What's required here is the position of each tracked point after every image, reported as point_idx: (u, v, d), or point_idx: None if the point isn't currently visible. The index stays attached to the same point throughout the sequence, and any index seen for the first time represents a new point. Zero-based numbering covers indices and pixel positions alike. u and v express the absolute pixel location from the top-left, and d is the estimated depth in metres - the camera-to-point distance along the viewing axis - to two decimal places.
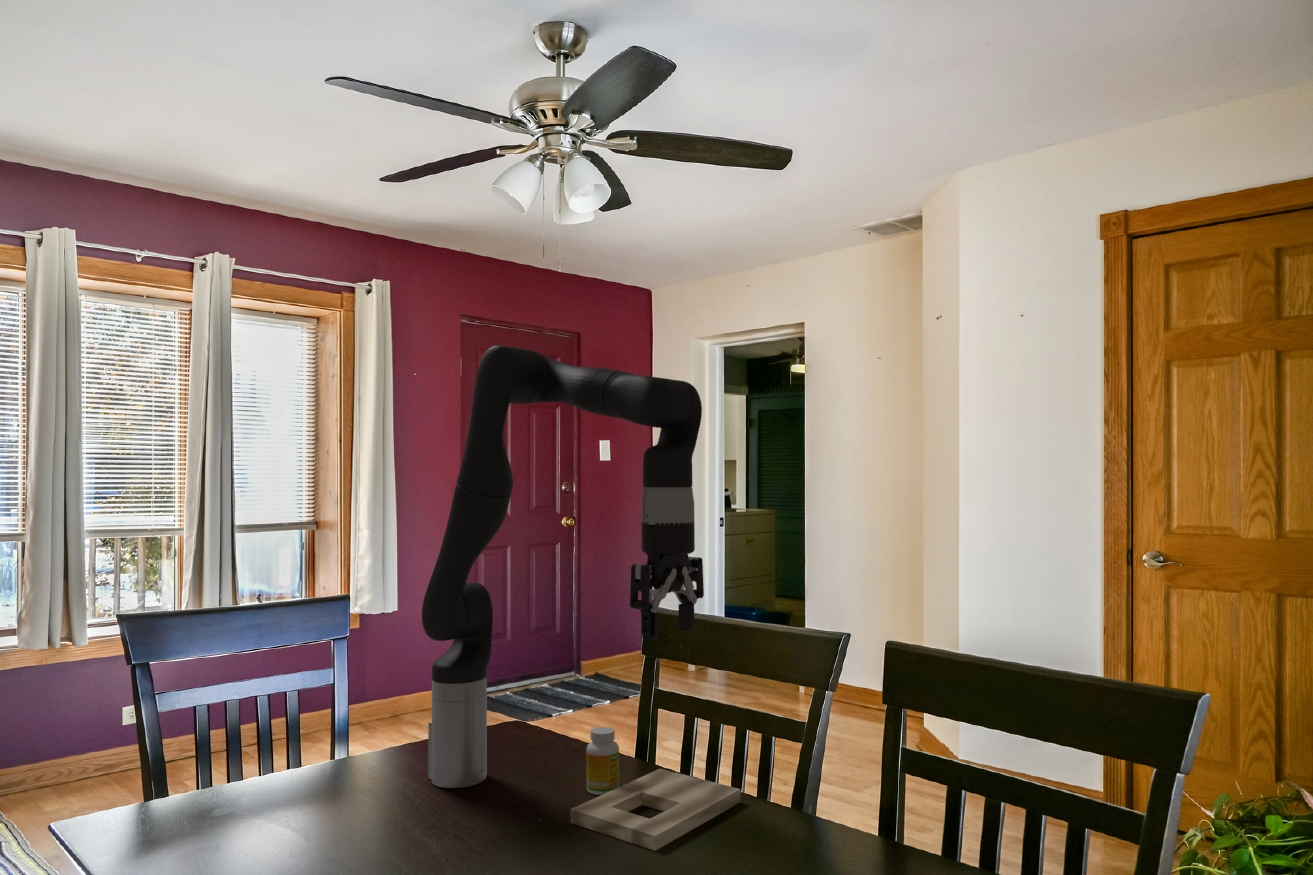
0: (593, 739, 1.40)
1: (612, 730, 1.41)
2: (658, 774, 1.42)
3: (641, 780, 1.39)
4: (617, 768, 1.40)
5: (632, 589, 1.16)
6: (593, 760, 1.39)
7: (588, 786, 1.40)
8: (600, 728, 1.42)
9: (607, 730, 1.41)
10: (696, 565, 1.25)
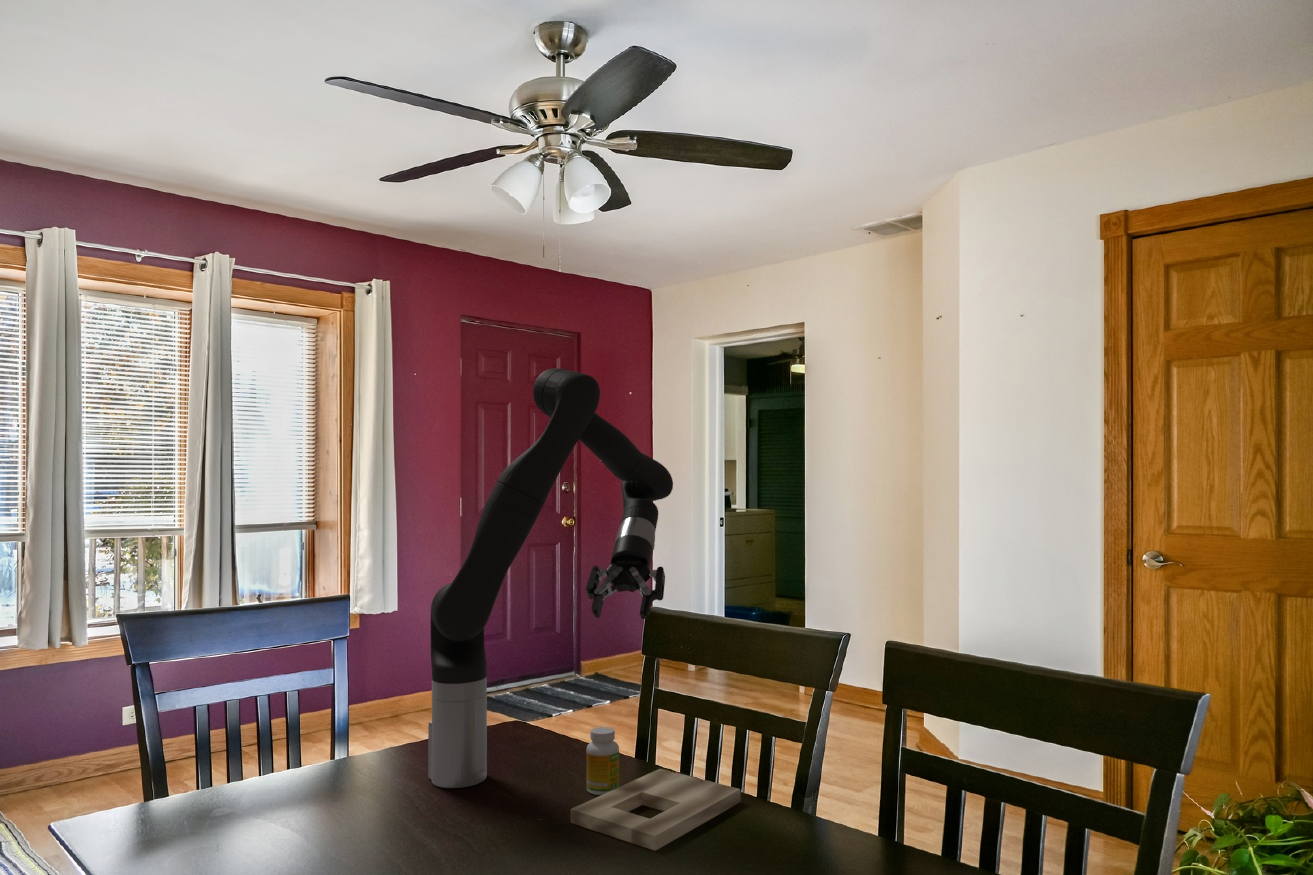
0: (593, 739, 1.40)
1: (612, 730, 1.41)
2: (658, 774, 1.42)
3: (641, 780, 1.39)
4: (617, 768, 1.40)
5: (662, 582, 1.56)
6: (593, 760, 1.39)
7: (588, 786, 1.40)
8: (600, 728, 1.42)
9: (607, 731, 1.41)
10: None
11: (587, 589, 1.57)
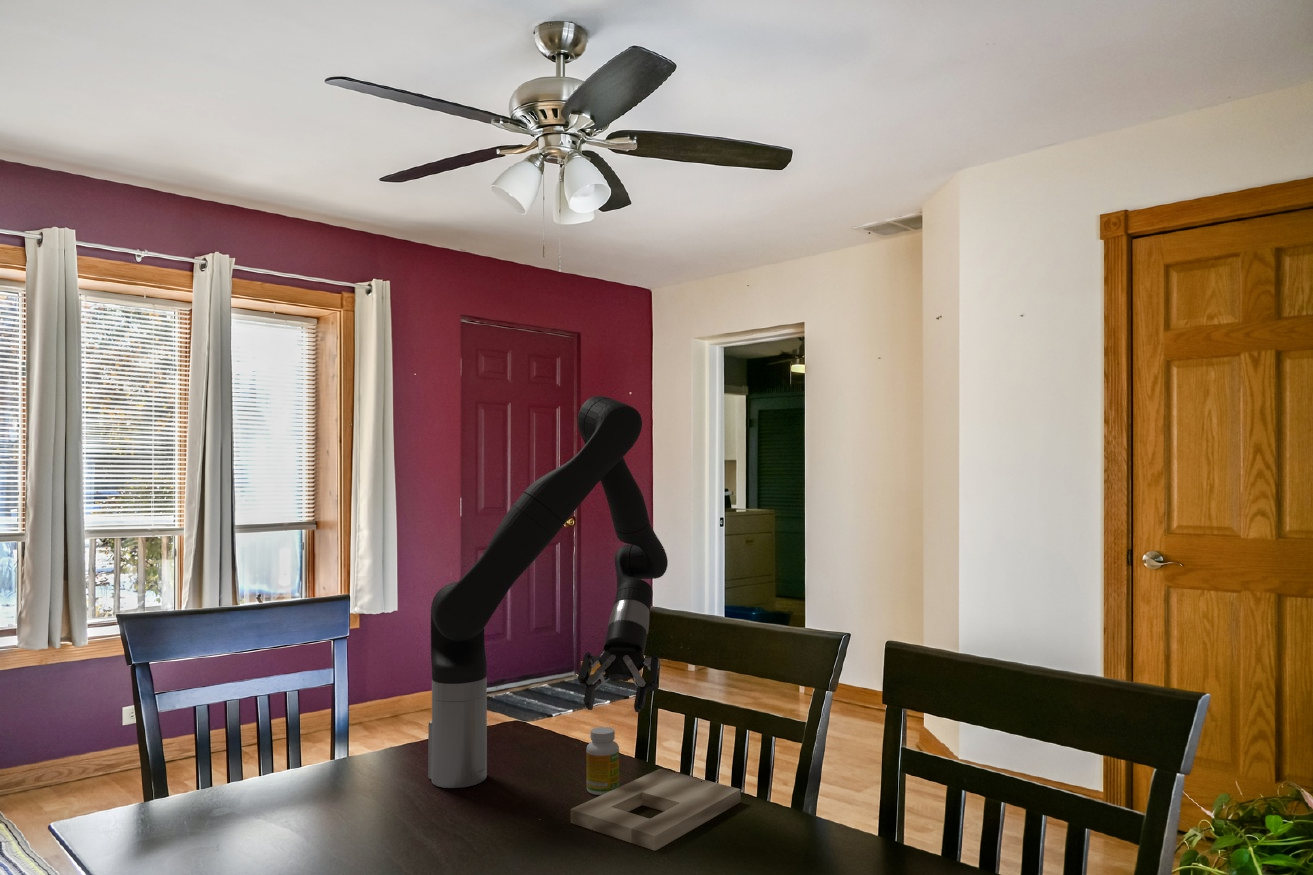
0: (592, 739, 1.40)
1: (612, 730, 1.41)
2: (658, 774, 1.42)
3: (641, 780, 1.39)
4: (617, 768, 1.40)
5: (657, 672, 1.51)
6: (592, 760, 1.39)
7: (588, 786, 1.40)
8: (600, 728, 1.42)
9: (607, 731, 1.41)
10: None
11: (579, 679, 1.52)
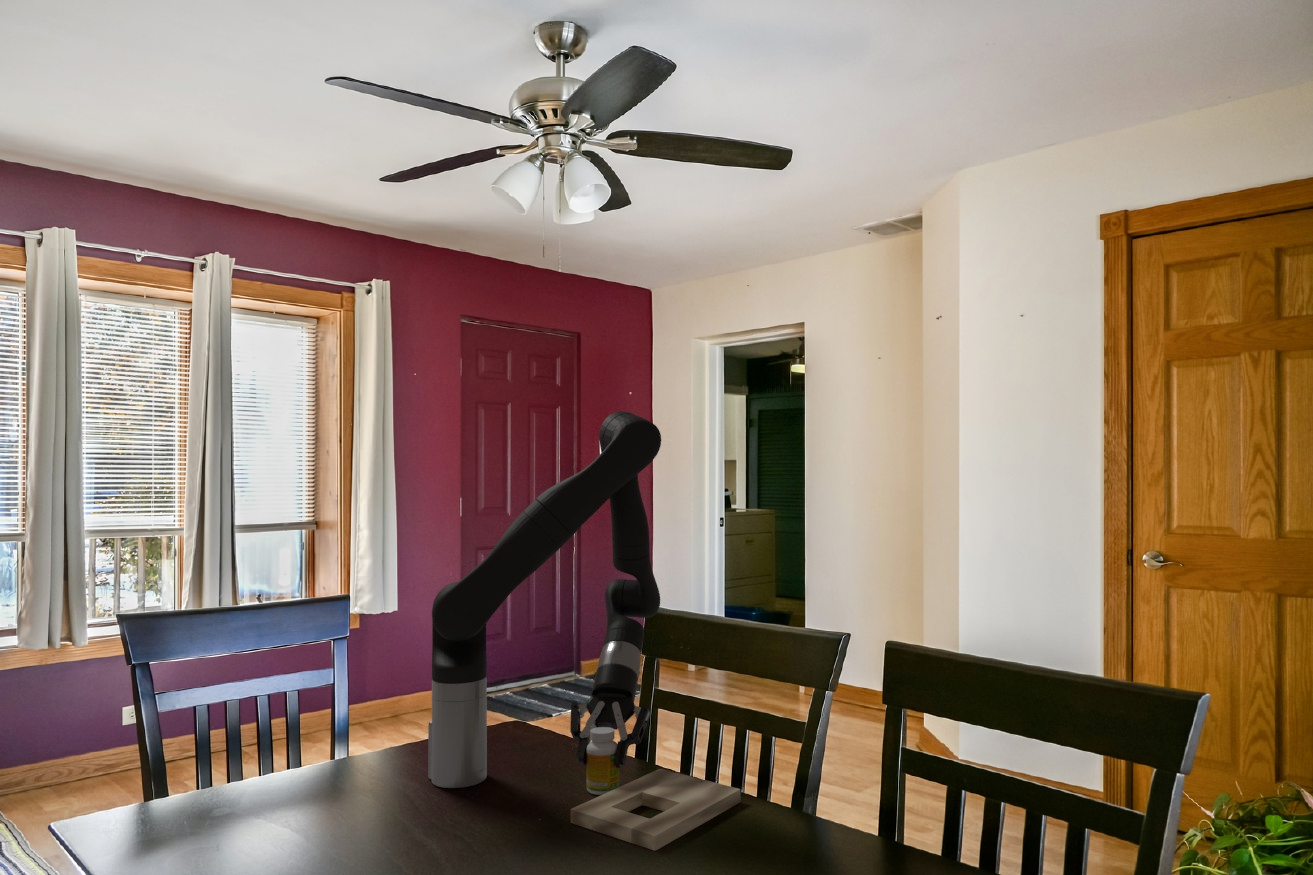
0: (592, 739, 1.40)
1: (612, 730, 1.41)
2: (658, 774, 1.42)
3: (641, 780, 1.39)
4: (617, 768, 1.40)
5: (642, 725, 1.42)
6: (592, 760, 1.39)
7: (588, 786, 1.40)
8: (600, 728, 1.42)
9: (607, 730, 1.41)
10: None
11: (572, 732, 1.43)
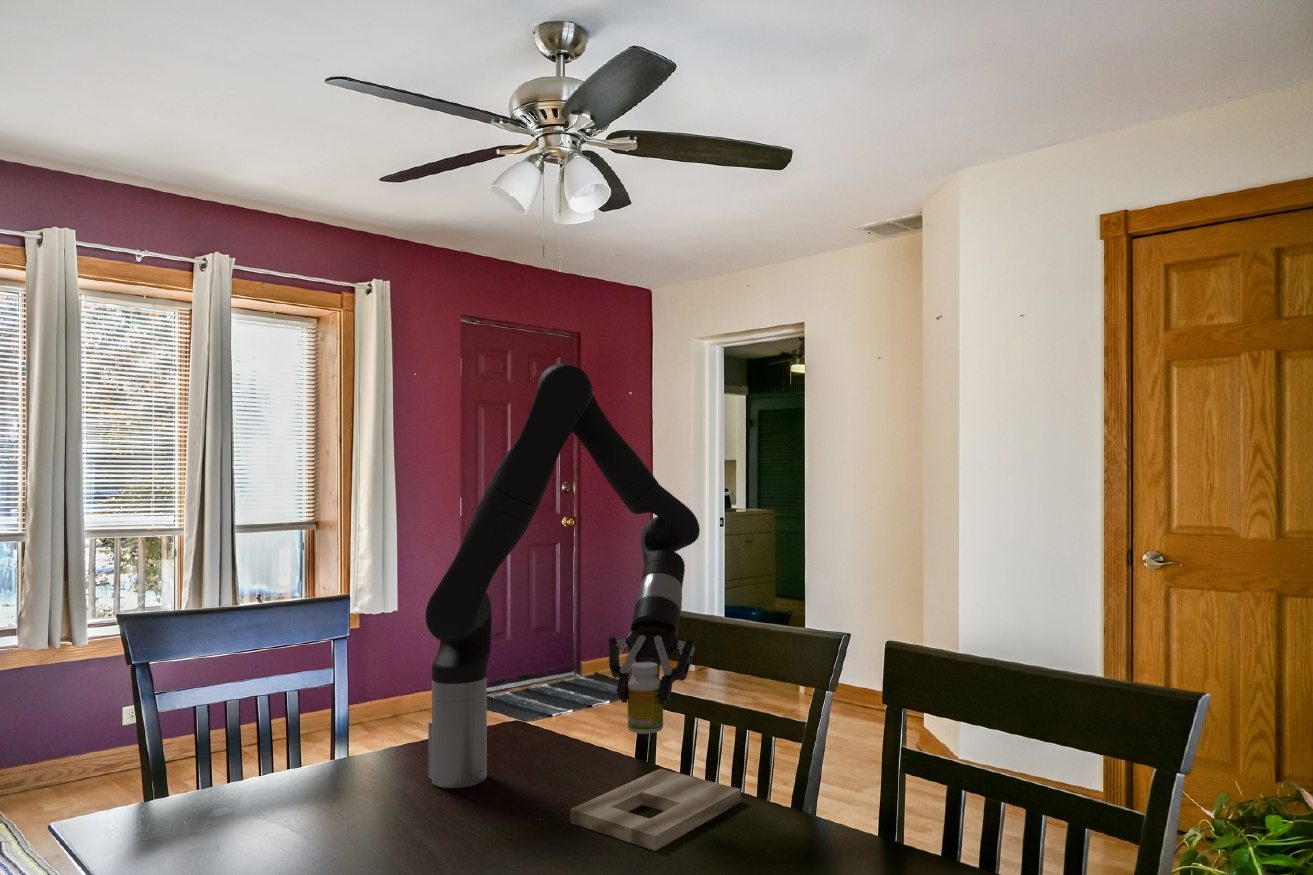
0: (634, 674, 1.29)
1: (655, 664, 1.30)
2: (658, 774, 1.42)
3: (641, 780, 1.39)
4: (661, 705, 1.29)
5: (687, 659, 1.31)
6: (635, 696, 1.28)
7: (630, 724, 1.29)
8: (642, 663, 1.31)
9: (650, 665, 1.30)
10: None
11: (612, 667, 1.32)
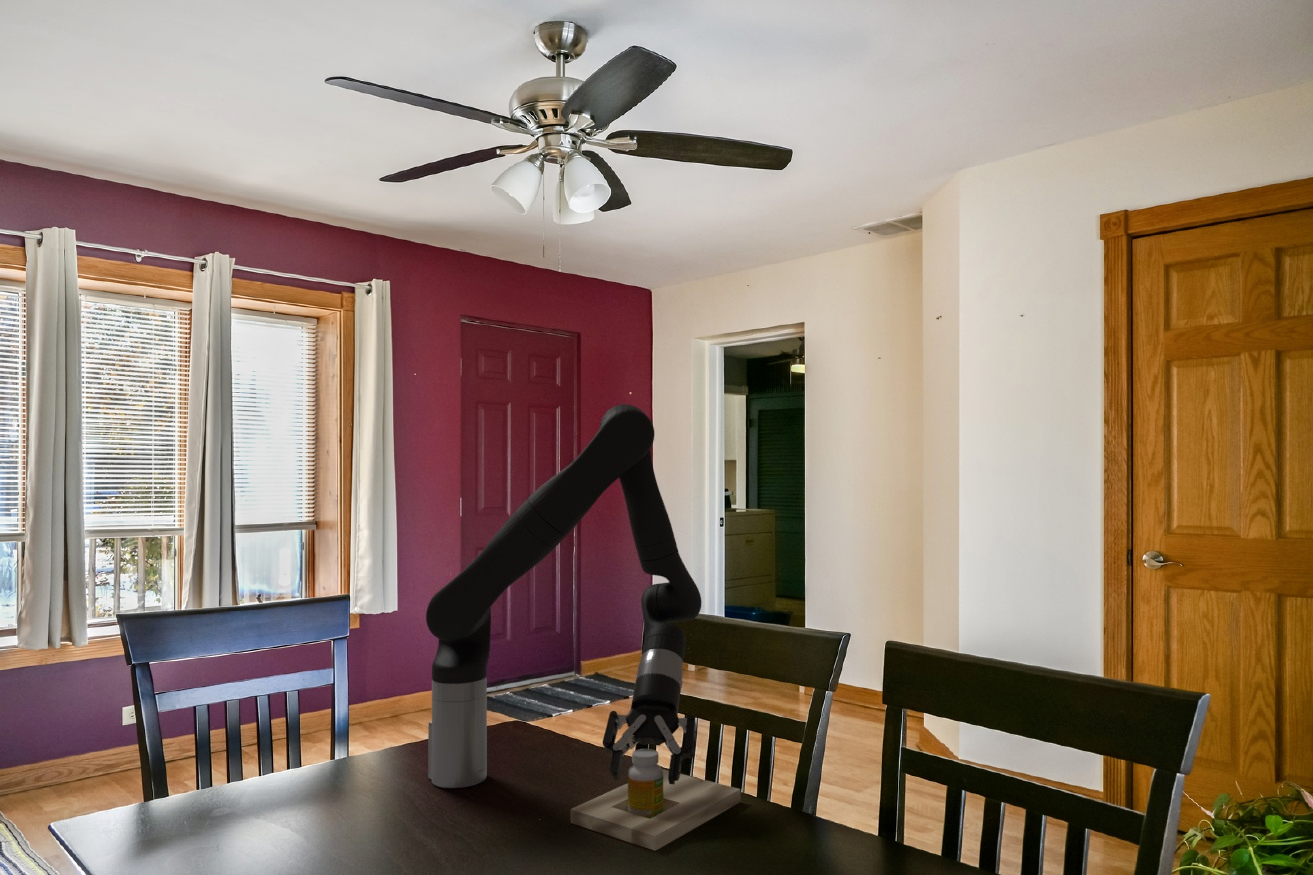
0: (635, 763, 1.28)
1: (656, 753, 1.30)
2: None
3: None
4: (661, 794, 1.28)
5: (694, 736, 1.31)
6: (635, 786, 1.27)
7: None
8: (642, 750, 1.31)
9: (650, 753, 1.29)
10: None
11: (604, 743, 1.32)
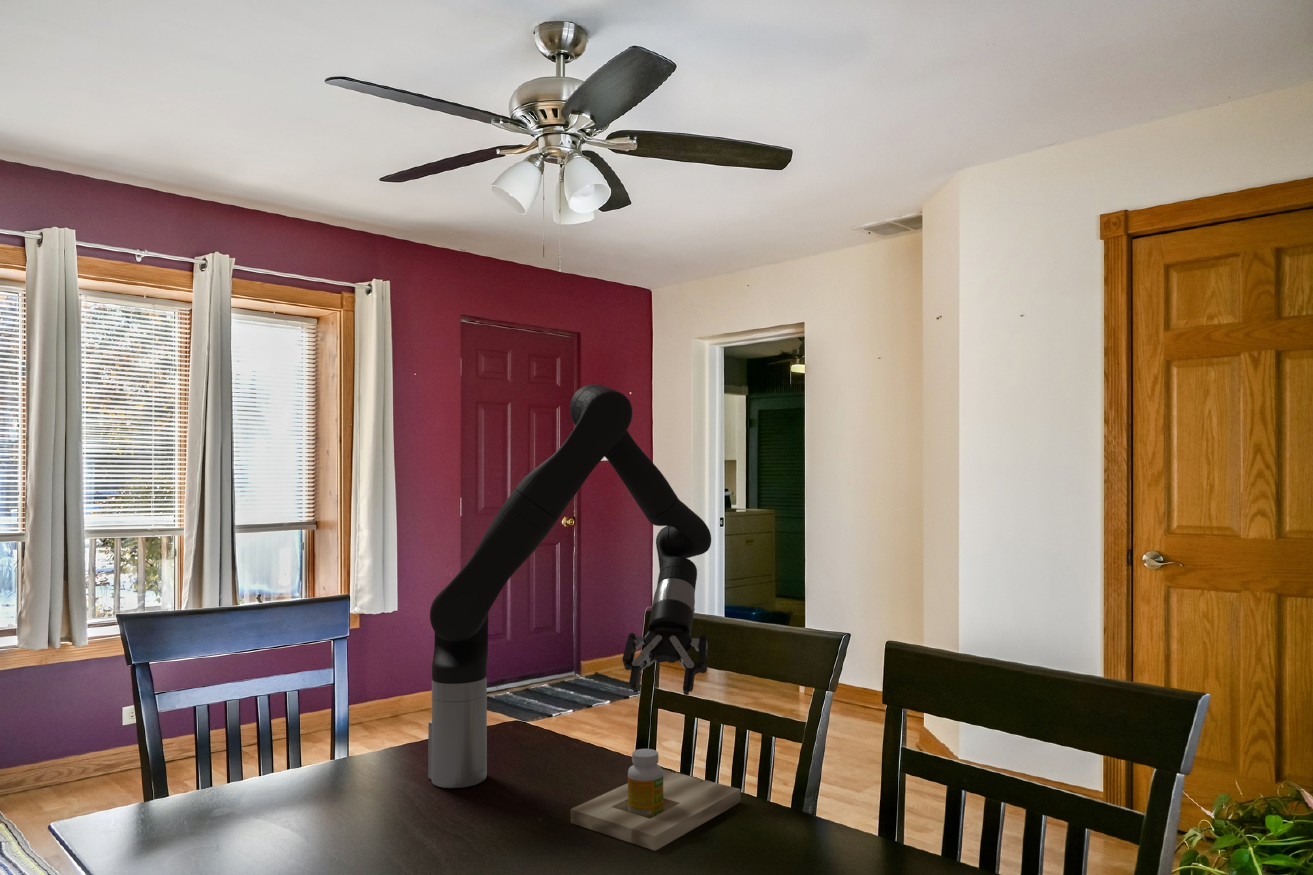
0: (635, 763, 1.28)
1: (656, 753, 1.30)
2: None
3: None
4: (661, 794, 1.28)
5: (705, 653, 1.44)
6: (635, 786, 1.27)
7: None
8: (642, 750, 1.31)
9: (650, 753, 1.29)
10: None
11: (624, 660, 1.45)
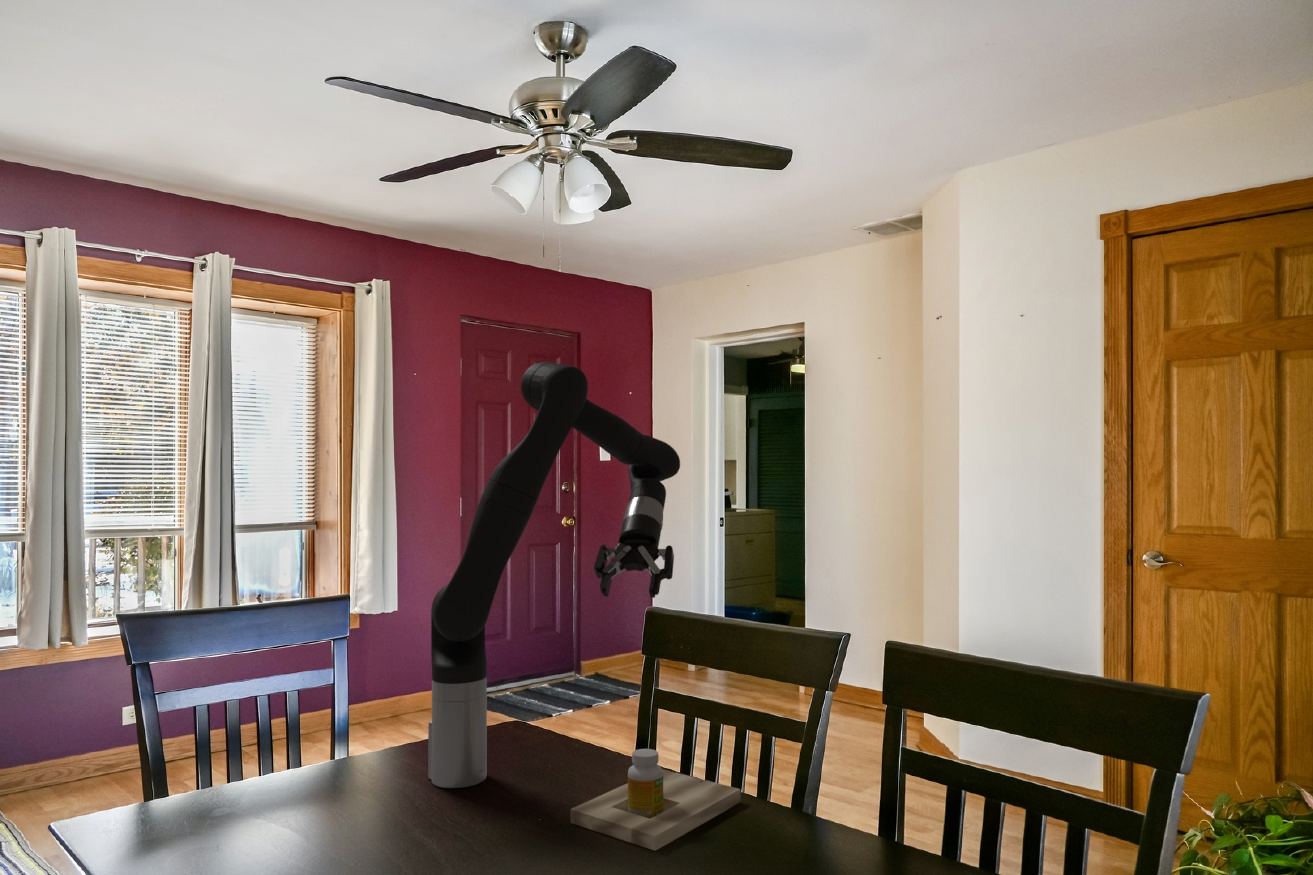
0: (635, 763, 1.28)
1: (656, 753, 1.30)
2: None
3: None
4: (661, 794, 1.28)
5: (671, 560, 1.55)
6: (635, 786, 1.27)
7: None
8: (642, 750, 1.31)
9: (650, 753, 1.29)
10: None
11: (595, 568, 1.56)
